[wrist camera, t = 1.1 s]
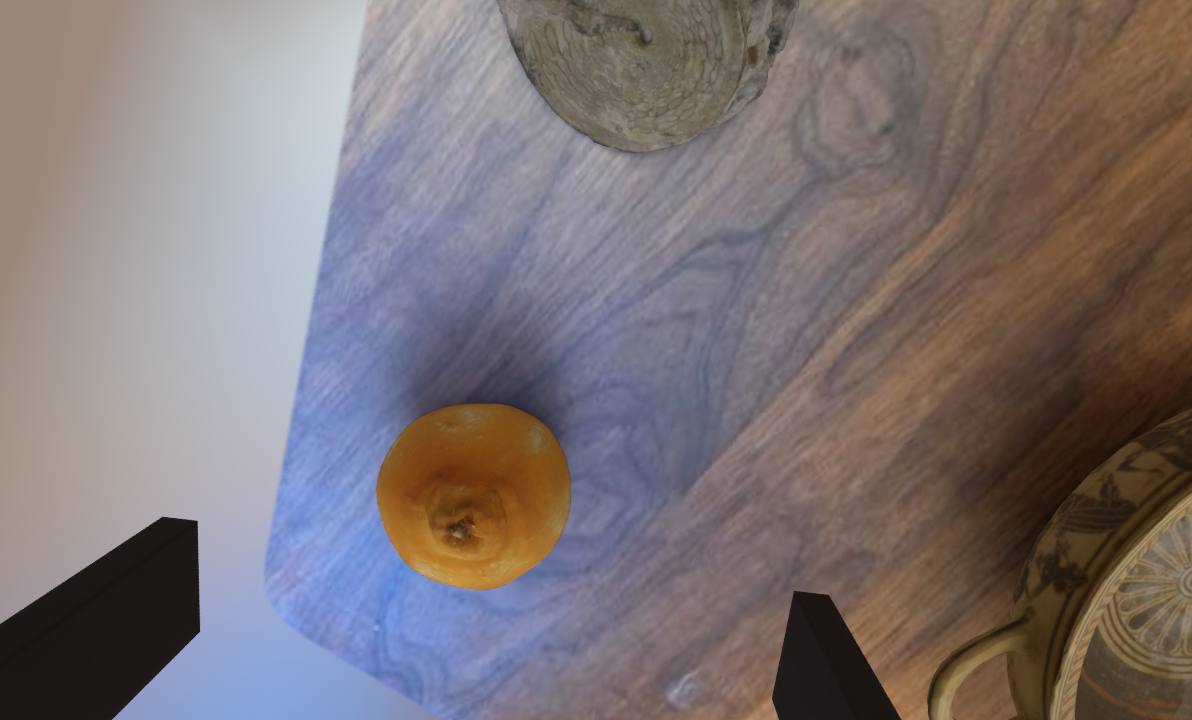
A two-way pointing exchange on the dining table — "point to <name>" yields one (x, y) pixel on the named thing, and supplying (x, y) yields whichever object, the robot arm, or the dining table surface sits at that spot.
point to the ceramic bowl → (1102, 597)
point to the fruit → (474, 494)
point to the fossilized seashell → (648, 62)
